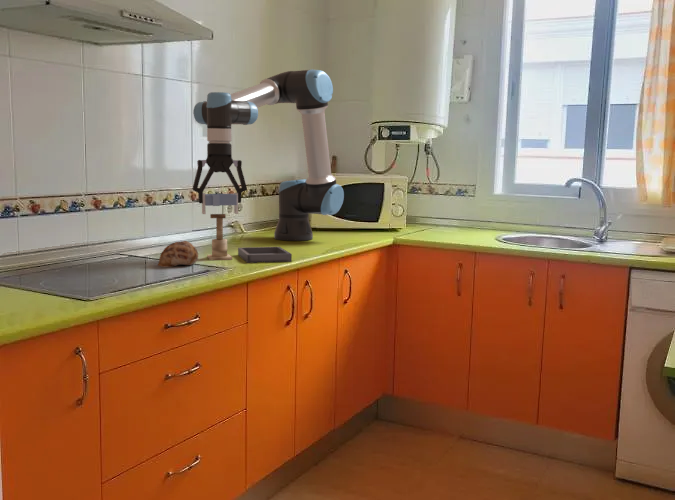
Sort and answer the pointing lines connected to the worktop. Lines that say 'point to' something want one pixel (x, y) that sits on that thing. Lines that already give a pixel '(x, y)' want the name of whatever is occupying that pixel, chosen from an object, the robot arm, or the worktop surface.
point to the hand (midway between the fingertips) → (220, 213)
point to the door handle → (219, 240)
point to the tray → (264, 254)
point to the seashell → (178, 254)
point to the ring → (220, 199)
